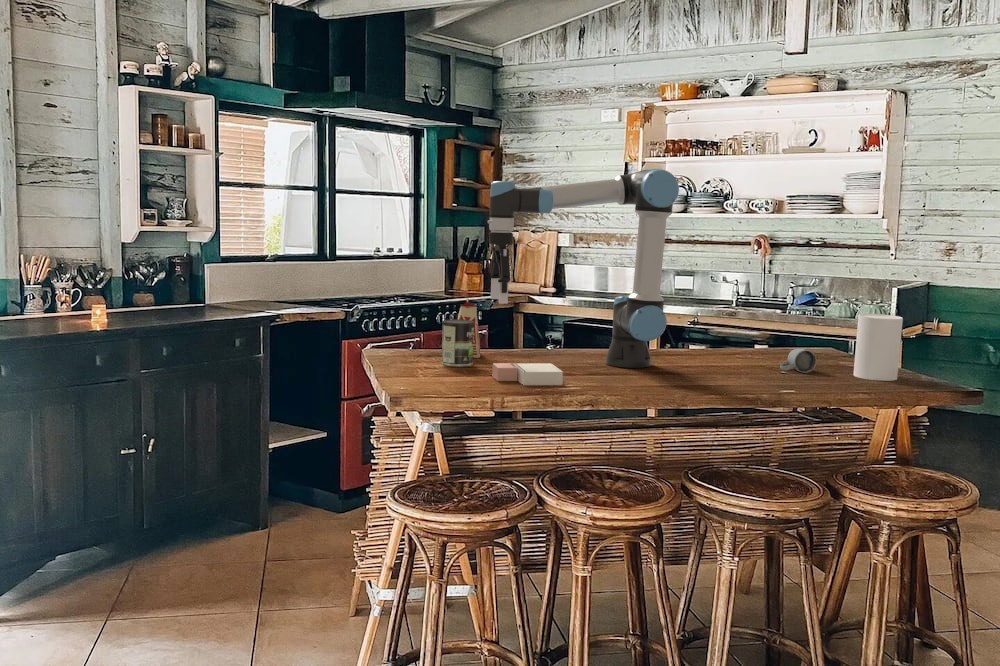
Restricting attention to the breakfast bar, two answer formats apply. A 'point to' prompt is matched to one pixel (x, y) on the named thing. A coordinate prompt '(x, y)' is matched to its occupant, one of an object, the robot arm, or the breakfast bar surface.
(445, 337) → the coffee can
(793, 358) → the ceramic mug
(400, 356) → the breakfast bar surface
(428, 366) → the breakfast bar surface
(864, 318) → the canister
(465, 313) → the milk carton
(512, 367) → the stub
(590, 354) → the breakfast bar surface
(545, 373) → the board
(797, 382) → the breakfast bar surface
